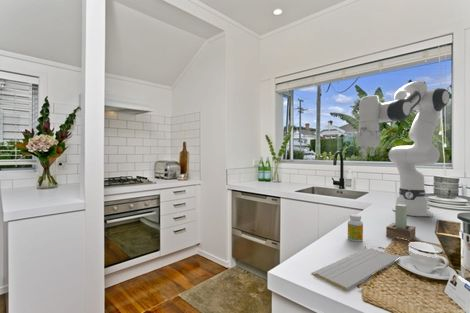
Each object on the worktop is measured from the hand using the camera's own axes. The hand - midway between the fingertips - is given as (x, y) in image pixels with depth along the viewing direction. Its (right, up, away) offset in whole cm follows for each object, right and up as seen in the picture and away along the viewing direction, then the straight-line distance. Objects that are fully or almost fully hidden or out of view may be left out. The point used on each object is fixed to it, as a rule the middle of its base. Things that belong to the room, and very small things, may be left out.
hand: (368, 155), depth 119 cm
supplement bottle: (-19, -34, -24) cm, 45 cm away
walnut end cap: (+2, -33, -20) cm, 39 cm away
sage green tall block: (+2, -32, -20) cm, 38 cm away
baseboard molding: (-29, -34, -46) cm, 65 cm away
